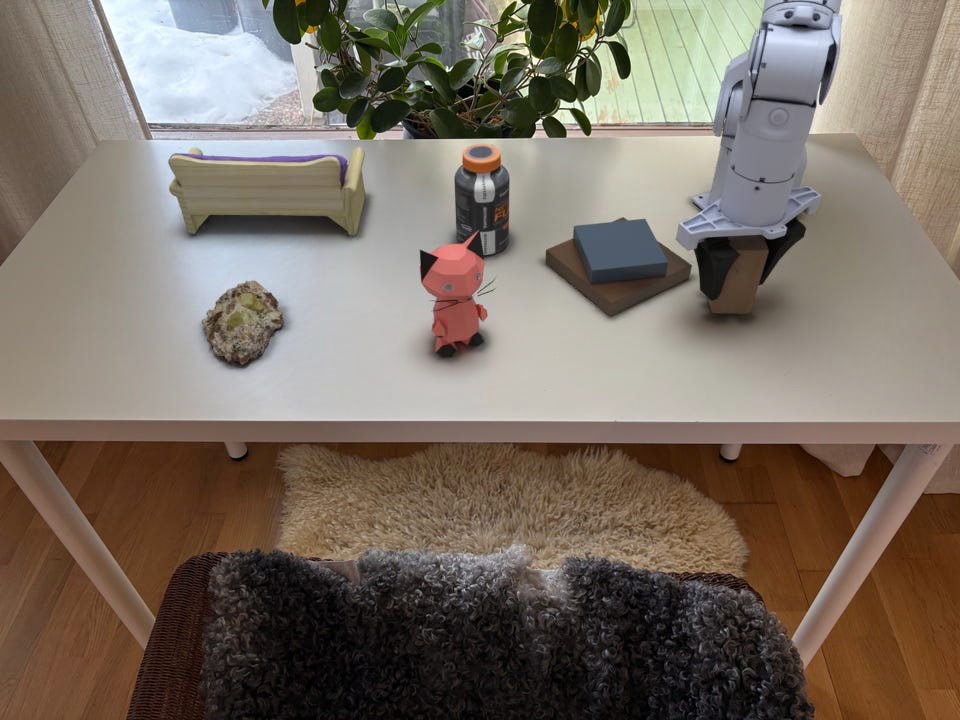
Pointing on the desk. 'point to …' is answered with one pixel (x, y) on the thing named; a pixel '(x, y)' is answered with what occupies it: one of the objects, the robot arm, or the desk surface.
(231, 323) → the mineral rock
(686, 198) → the desk surface
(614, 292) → the base slab
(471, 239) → the cat figurine
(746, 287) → the wooden block
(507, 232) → the pill bottle
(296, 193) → the toy sofa
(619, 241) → the top tile
